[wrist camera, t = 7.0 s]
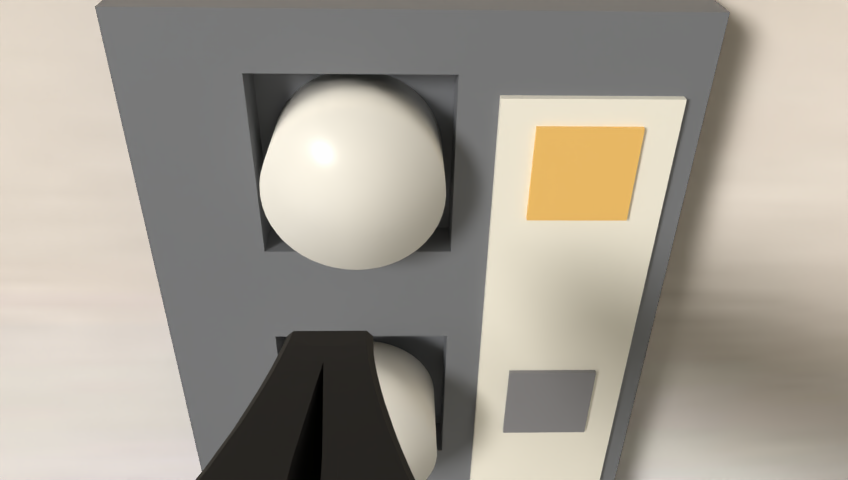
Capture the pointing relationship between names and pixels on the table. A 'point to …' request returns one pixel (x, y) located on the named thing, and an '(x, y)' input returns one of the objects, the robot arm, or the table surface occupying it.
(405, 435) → the middle button
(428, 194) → the button
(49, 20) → the table surface
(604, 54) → the button board
